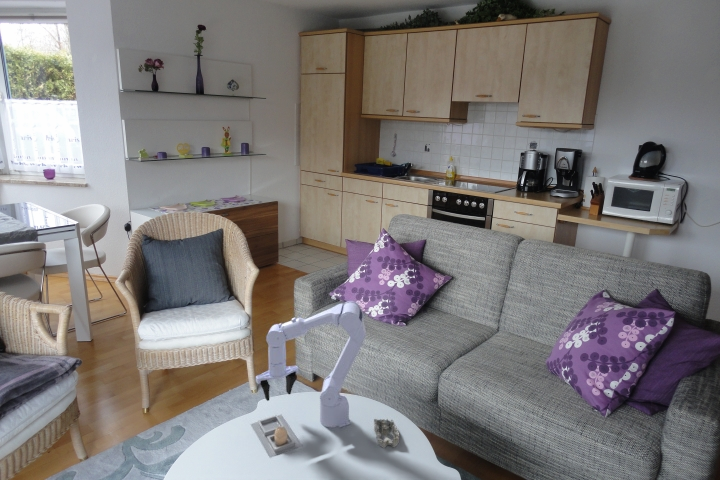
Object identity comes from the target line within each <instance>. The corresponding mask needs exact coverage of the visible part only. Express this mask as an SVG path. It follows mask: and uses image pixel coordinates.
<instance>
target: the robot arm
mask: <svg viewBox="0 0 720 480" xmlns="http://www.w3.org/2000/svg"><path fill="white" fill-rule="evenodd" d="M328 324H332V325H334V326H335V327H337V328H338V327H339V326H340V327H341V328H342V329H343V330H344V331H345V332H346V333H347V334H348V336H349V337H348V338H347V340H346V343H345V345H344V347H343V349H342V351H341V353H340V355H339V357H338V359H337V361H336V364H335V366H334V367H333V369H332V371H330V372H329V373H330V374H329V375H327V376H326V377H325V378H324V379H323V382H322V388H321V392H320V395H319V399H320V400H319V403H320V404H319V422H320V424H321V425H322V426H323V427H326V428H335V427H339V428H343V427H346V426H348V425H350V424H351V423H350V421H349V418H350V416H349V415H350V405H349V401H348V399H347V397H346V395H344V394H340V393H341V391H342V388H343V384H344V381H345V379H346V377H347V376H348V373H349V371H350V370H351V368H352V366H353V364H354V362H355V359H356V357H357V356H358V354H359V352H360V350H361V348H362V346H363V344H364V341H365V340H366V334H367V331H366V326H365V318H364V311H363V309H362V308H361V306H360V305H359V303H357V302H356V301H353V300H348V301H345V302H344V303H338V304H336V305H334V306H333V307H330V308H328V309H326V310H323V311H322V312H318V313H317V314H313V315H312V316H310V317H308V318H303V317H293V318H291V320H289V321H286V322H284V323H282V322H280V323H275V324H273V325H272V326H271V327H270V328H269V330H268V333H267V334H266V337H265V338H266V339H265V341H266V343H267V344H268V345H267V346H268V348H267V351H268V354H267V355H268V370H266V371H265V372H262V373H261V374H258V375H256V376H255V383H256V384H257V385H260V387H261V389H262V391H263V394H264V399H265V400H266V401H267V402H268V401H270V388H271V385H270V384H269V381H271V380H279V379H283V378H285V382H286V383H285V391H286V393H287V394H288V395H291V394H292V390H293V387H294V384H295V383H296V381H297V379H298V375H297V374H299V370H300V369H299V367H298V366H297V365H289V366H287V347H286V341H291V340H293V339H294V340H295V339H296V338H298V337H302V336H304V335H307V332H308V330H311V329H314V328H317V327H320V326H324V325H328Z"/></svg>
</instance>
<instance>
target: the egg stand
mask: <svg viewBox="0 0 720 480" xmlns="http://www.w3.org/2000/svg"><path fill="white" fill-rule="evenodd" d="M250 426H251V428H252V430H253V431H254V433H255V434H256V436H257V438H258V440H259V441H260V444H261V445H262V447H263V449H264V450H265V452H266V454H267V456H268V457H269V458H272V457H276V456H279V455H280V454H284V453H287V452H290V451H292V450H296V449H297V448H300V447H304V446H303V443H302V442H301V441H300V439H299V438H298V437H297V434H296V433H295V432H294V430H293V429H292V428H291V427H290V425H289V423H288V422H287V421H286V418H284V416H283V415H282V414H279V415H277V414H275V415H272V416H269V417H265V418H263V419H260V420H257V422H253V423H250ZM278 427H284V428H286V430H287V444H286V445H283V446H280V447H277V446H276V445H275V430H276V429H277V428H278Z"/></svg>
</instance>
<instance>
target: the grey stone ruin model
mask: <svg viewBox="0 0 720 480" xmlns="http://www.w3.org/2000/svg"><path fill="white" fill-rule="evenodd" d="M373 426H374V429H373V431H374V433H375V439H377V445H378V446H380V447H382V448H385V449H386V448H387V446H392V448H395V447H397V445H398V444H399V442H400V433H399V430H398V427H397V425H396V424H395V421H394V420H393V419H391V420H388V418H387V419H381V418H380V419H377V418H374V419H373ZM390 428H391V435H393V439H391V438H390V437H384V439H382V435H383V436H389V433H390ZM380 429H381V432H380Z"/></svg>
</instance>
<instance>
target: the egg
mask: <svg viewBox="0 0 720 480" xmlns="http://www.w3.org/2000/svg"><path fill="white" fill-rule="evenodd" d="M286 444H287V430H286V428H284V427H278V428H277V429H276V430H275V445H276V446H277V447H280V446H283V445H286Z"/></svg>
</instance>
